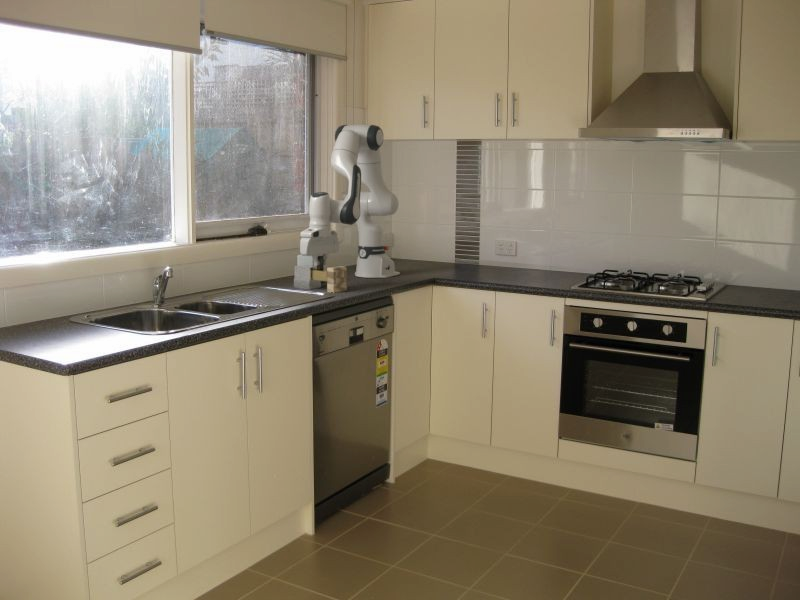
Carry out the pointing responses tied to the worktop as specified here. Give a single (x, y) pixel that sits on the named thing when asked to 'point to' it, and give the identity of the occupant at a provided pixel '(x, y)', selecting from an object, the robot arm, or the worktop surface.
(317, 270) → the brass slip tube
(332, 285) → the beech socket block
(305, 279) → the aluminium sleeve
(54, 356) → the worktop surface
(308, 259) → the supplement box
